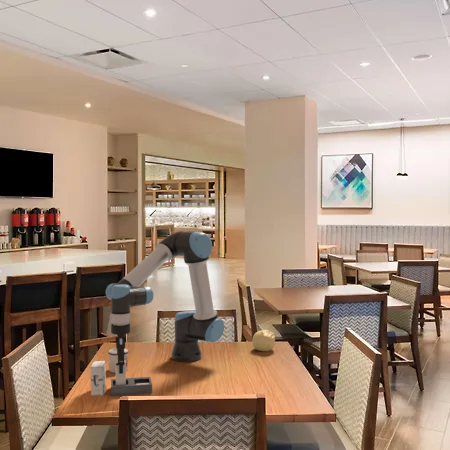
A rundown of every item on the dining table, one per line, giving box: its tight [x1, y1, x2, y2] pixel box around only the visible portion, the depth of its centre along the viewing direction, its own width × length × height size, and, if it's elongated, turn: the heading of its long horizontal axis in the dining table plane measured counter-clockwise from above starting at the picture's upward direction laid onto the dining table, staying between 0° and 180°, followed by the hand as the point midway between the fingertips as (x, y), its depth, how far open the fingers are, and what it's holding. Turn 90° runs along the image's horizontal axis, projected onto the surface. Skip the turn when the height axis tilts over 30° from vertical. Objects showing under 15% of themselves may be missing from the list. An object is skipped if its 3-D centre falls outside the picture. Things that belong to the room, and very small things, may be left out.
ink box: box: [89, 360, 107, 396], centre depth 213 cm, size 9×5×12 cm, turn 5°
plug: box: [115, 360, 127, 385], centre depth 213 cm, size 4×4×14 cm
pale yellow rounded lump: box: [252, 329, 276, 352], centre depth 278 cm, size 12×12×11 cm
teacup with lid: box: [107, 346, 129, 374], centre depth 244 cm, size 12×9×12 cm
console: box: [110, 376, 153, 397], centre depth 214 cm, size 16×10×4 cm, turn 102°
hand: (120, 376), depth 213 cm, fingers open, 12 cm apart
